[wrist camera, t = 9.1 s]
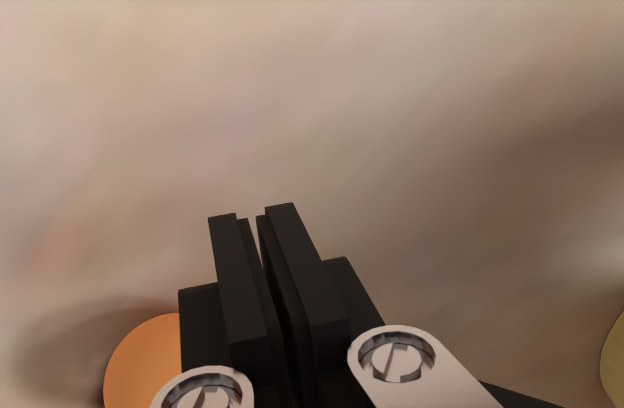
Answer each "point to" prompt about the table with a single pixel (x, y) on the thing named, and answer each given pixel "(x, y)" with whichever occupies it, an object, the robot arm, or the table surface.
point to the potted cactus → (614, 363)
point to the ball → (143, 363)
